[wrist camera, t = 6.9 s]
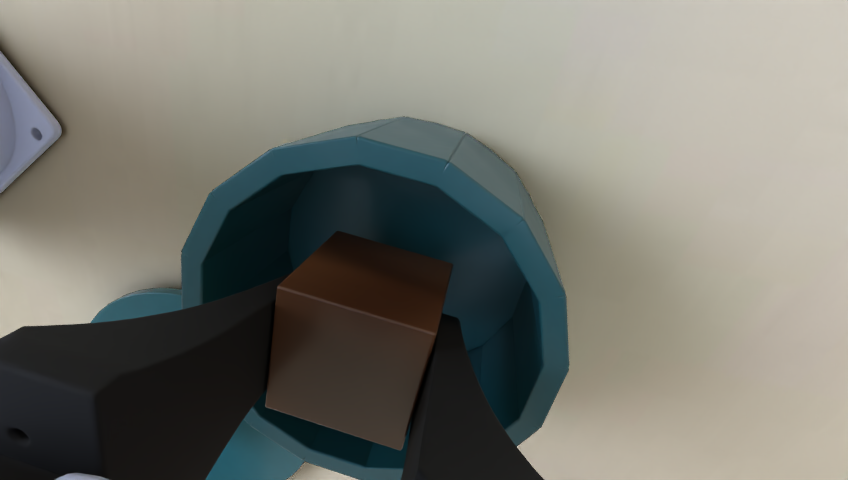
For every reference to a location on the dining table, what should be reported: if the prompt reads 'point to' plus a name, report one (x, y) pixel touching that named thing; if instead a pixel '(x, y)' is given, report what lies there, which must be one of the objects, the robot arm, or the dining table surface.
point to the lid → (248, 448)
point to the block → (356, 337)
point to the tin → (406, 229)
